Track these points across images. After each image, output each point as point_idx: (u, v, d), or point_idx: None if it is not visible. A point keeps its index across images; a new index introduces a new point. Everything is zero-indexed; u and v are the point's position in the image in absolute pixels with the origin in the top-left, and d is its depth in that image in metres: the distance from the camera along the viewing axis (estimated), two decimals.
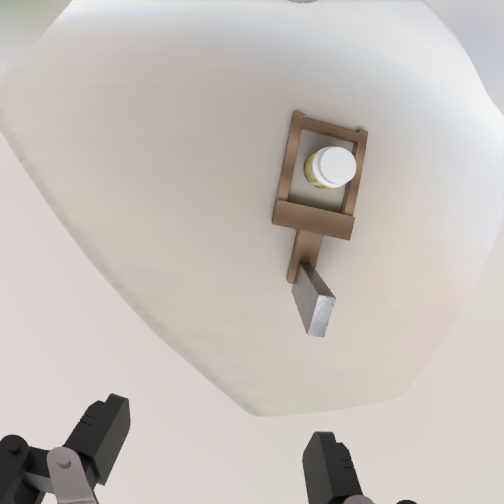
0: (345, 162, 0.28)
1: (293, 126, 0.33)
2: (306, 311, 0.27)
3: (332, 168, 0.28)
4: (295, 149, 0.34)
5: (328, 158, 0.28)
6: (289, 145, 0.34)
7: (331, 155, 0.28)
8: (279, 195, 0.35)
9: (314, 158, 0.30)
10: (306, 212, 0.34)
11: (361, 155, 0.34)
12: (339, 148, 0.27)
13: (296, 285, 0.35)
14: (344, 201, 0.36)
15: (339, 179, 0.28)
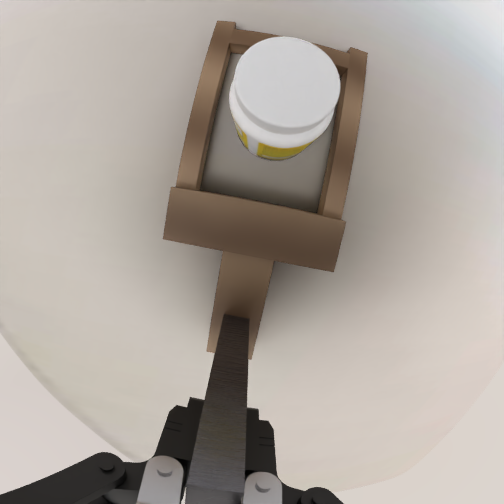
0: (308, 71, 0.09)
1: (212, 44, 0.14)
2: None
3: (269, 86, 0.09)
4: (214, 84, 0.15)
5: (257, 62, 0.09)
6: (202, 78, 0.15)
7: (266, 55, 0.09)
8: (180, 178, 0.16)
9: (234, 80, 0.11)
10: (233, 210, 0.16)
11: (357, 93, 0.15)
12: (289, 39, 0.09)
13: None
14: (324, 188, 0.17)
15: (291, 114, 0.09)
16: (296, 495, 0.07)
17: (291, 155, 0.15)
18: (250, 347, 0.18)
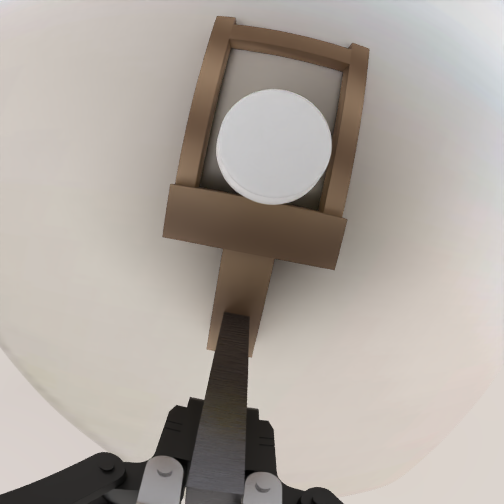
0: (296, 132, 0.09)
1: (212, 40, 0.14)
2: None
3: (255, 152, 0.09)
4: (214, 80, 0.15)
5: (242, 123, 0.09)
6: (202, 74, 0.15)
7: (252, 114, 0.09)
8: (179, 175, 0.16)
9: None
10: (233, 208, 0.15)
11: (358, 90, 0.15)
12: (277, 93, 0.09)
13: None
14: (325, 185, 0.17)
15: (277, 184, 0.10)
16: (296, 495, 0.07)
17: None
18: (250, 345, 0.18)
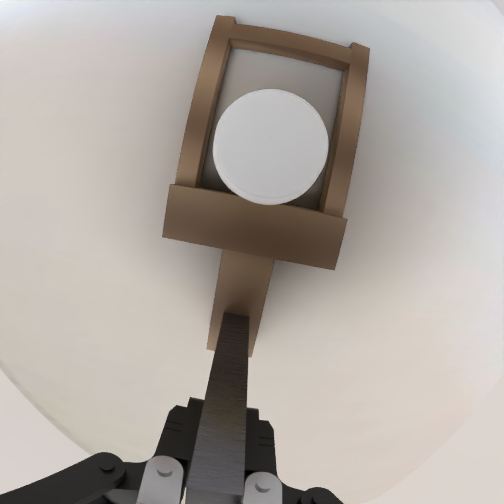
0: (292, 131, 0.09)
1: (212, 39, 0.14)
2: None
3: (251, 153, 0.09)
4: (214, 79, 0.15)
5: (237, 125, 0.09)
6: (201, 73, 0.14)
7: (246, 115, 0.09)
8: (179, 175, 0.16)
9: None
10: (233, 208, 0.15)
11: (359, 89, 0.15)
12: (271, 93, 0.09)
13: None
14: (325, 184, 0.17)
15: (276, 184, 0.10)
16: (296, 495, 0.07)
17: None
18: (250, 345, 0.18)
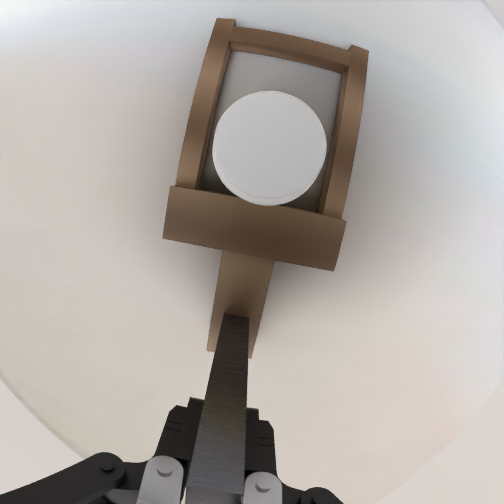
0: (291, 132, 0.09)
1: (212, 42, 0.14)
2: None
3: (251, 154, 0.09)
4: (214, 82, 0.15)
5: (236, 126, 0.09)
6: (202, 75, 0.15)
7: (245, 117, 0.09)
8: (179, 176, 0.16)
9: None
10: (233, 210, 0.16)
11: (358, 91, 0.15)
12: (269, 94, 0.09)
13: None
14: (324, 186, 0.17)
15: (275, 185, 0.10)
16: (296, 495, 0.07)
17: None
18: (250, 346, 0.18)
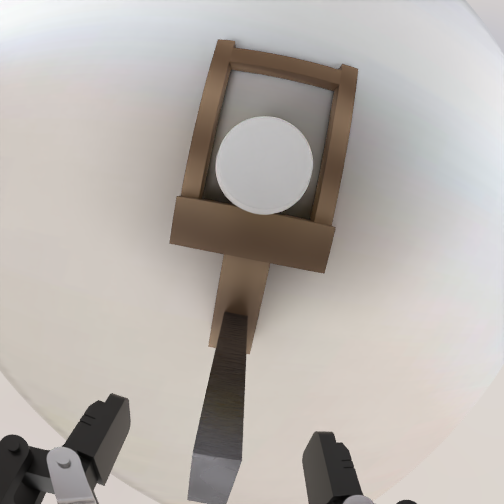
0: (282, 152, 0.11)
1: (214, 62, 0.16)
2: None
3: (248, 171, 0.11)
4: (215, 101, 0.17)
5: (236, 147, 0.11)
6: (204, 95, 0.17)
7: (244, 139, 0.11)
8: (184, 187, 0.18)
9: None
10: (233, 218, 0.17)
11: (347, 108, 0.17)
12: (264, 119, 0.11)
13: None
14: (316, 196, 0.19)
15: (269, 197, 0.12)
16: None
17: None
18: (248, 342, 0.20)
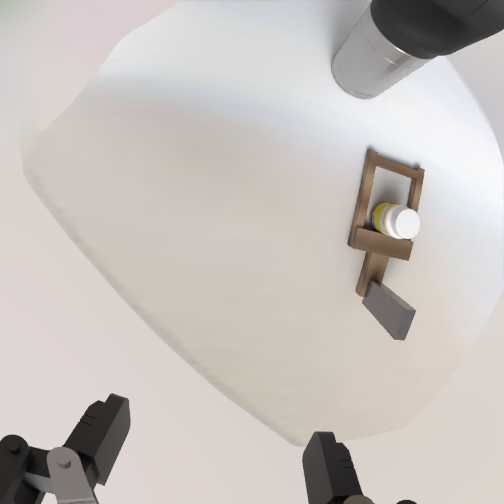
0: (413, 221, 0.33)
1: (369, 163, 0.38)
2: (390, 321, 0.32)
3: (404, 227, 0.33)
4: (371, 184, 0.38)
5: (401, 219, 0.33)
6: (366, 180, 0.38)
7: (403, 216, 0.33)
8: (357, 223, 0.40)
9: (387, 216, 0.35)
10: (378, 238, 0.39)
11: (419, 190, 0.38)
12: (409, 210, 0.33)
13: (369, 298, 0.39)
14: None
15: (408, 235, 0.33)
16: None
17: None
18: None
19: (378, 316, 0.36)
